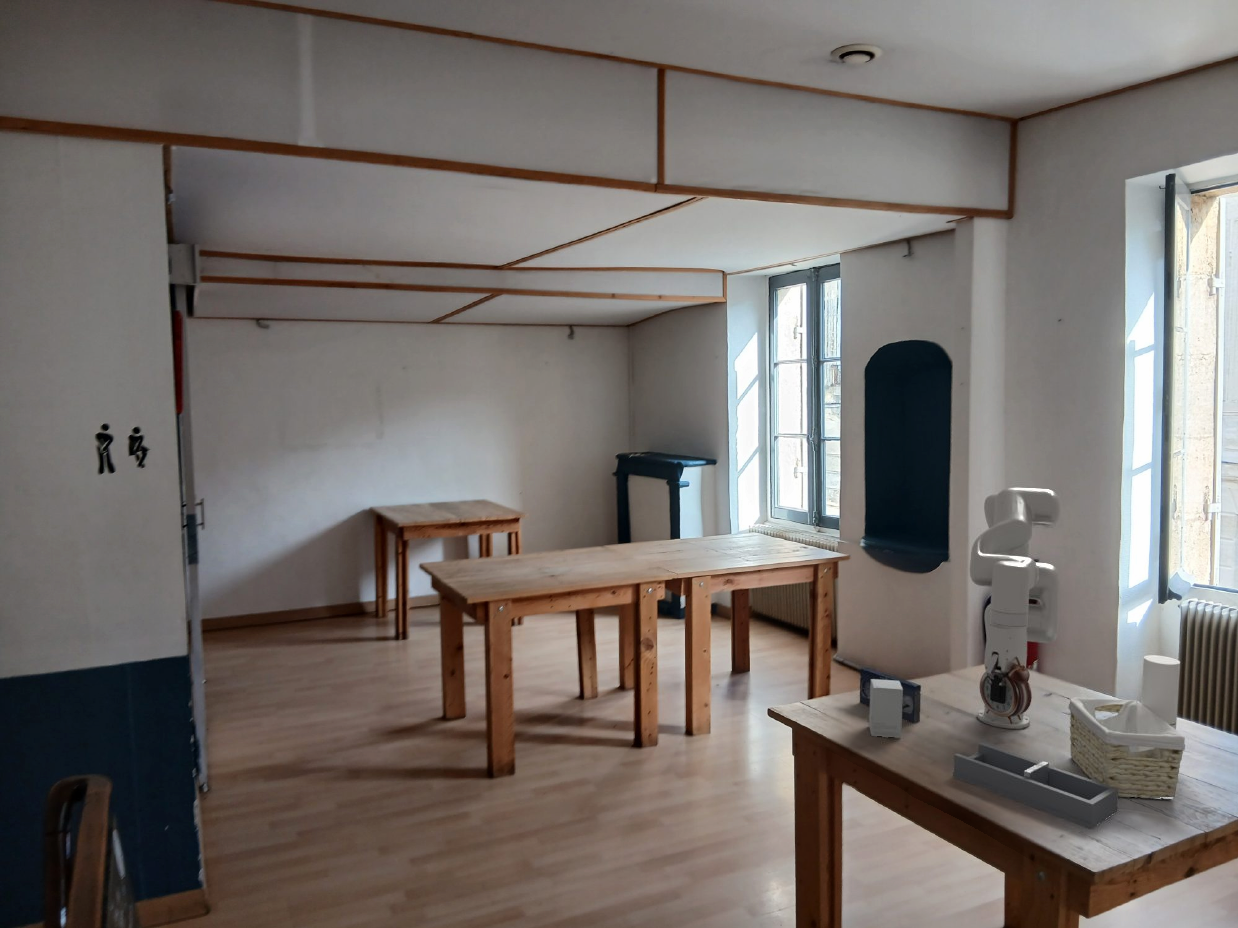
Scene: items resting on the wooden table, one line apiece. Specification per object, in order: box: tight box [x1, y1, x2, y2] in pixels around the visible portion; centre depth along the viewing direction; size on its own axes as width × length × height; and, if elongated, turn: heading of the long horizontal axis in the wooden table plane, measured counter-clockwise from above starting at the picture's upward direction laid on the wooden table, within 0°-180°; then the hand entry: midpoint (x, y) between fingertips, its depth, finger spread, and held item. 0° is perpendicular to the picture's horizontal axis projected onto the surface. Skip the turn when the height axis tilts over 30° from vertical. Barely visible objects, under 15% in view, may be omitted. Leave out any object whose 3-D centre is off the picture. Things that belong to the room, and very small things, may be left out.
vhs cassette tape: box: [859, 667, 922, 724], centre depth 238 cm, size 18×3×10 cm, turn 33°
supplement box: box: [868, 679, 903, 739], centre depth 224 cm, size 7×7×13 cm
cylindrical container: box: [1140, 654, 1181, 730], centre depth 205 cm, size 7×7×25 cm
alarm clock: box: [979, 657, 1033, 724], centre depth 194 cm, size 11×5×15 cm, turn 25°
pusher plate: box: [1024, 761, 1050, 785], centre depth 190 cm, size 8×1×5 cm, turn 128°
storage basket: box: [1068, 696, 1186, 799], centre depth 198 cm, size 24×16×15 cm
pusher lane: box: [952, 742, 1119, 830], centre depth 190 cm, size 12×30×5 cm, turn 38°
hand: (1005, 698), depth 194 cm, fingers closed on alarm clock, 5 cm apart
